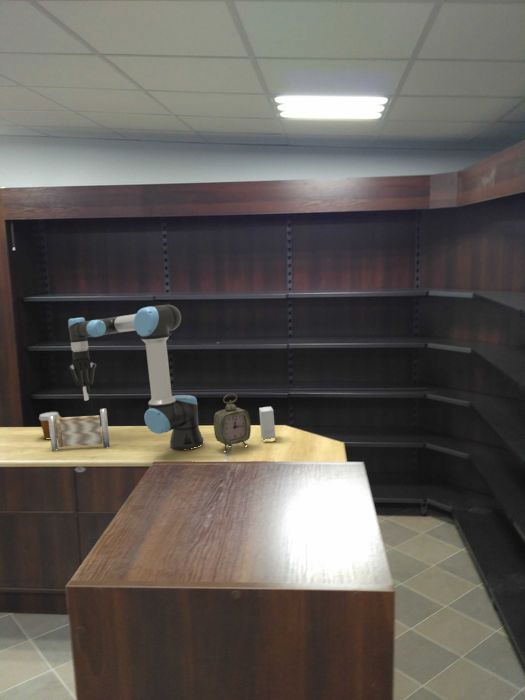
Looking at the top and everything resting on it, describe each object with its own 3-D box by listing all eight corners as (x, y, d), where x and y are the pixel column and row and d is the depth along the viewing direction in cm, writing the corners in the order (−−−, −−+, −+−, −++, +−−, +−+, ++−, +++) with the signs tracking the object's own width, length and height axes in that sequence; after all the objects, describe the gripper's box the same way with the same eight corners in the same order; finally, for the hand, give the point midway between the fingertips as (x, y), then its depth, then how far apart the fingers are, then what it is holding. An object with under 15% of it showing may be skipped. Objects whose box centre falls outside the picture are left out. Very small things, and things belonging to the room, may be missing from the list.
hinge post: (110, 445, 253) (106, 408, 250) (109, 447, 250) (105, 409, 247) (104, 446, 253) (100, 408, 250) (102, 448, 250) (99, 410, 247)
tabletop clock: (223, 455, 234) (220, 398, 230) (213, 449, 241) (209, 394, 237) (251, 447, 242) (249, 392, 238) (241, 442, 249) (238, 389, 245)
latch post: (59, 448, 252) (55, 415, 249) (57, 450, 249) (53, 417, 247) (52, 449, 252) (49, 415, 249) (50, 451, 249) (47, 417, 247)
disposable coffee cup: (48, 442, 263) (45, 417, 261) (37, 438, 269) (34, 415, 267) (65, 436, 270) (63, 413, 268) (54, 433, 276) (52, 410, 274)
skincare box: (275, 442, 248) (274, 410, 245) (262, 443, 247) (261, 411, 245) (273, 436, 256) (271, 405, 254) (260, 437, 255) (258, 406, 253)
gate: (102, 443, 252) (99, 414, 250) (101, 444, 250) (98, 415, 248) (59, 445, 252) (56, 416, 249) (57, 447, 249) (54, 417, 247)
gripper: (96, 348, 261) (102, 397, 263) (68, 351, 260) (74, 400, 261) (92, 349, 254) (99, 399, 255) (64, 352, 252) (70, 402, 254)
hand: (86, 400), depth 258 cm, fingers closed
